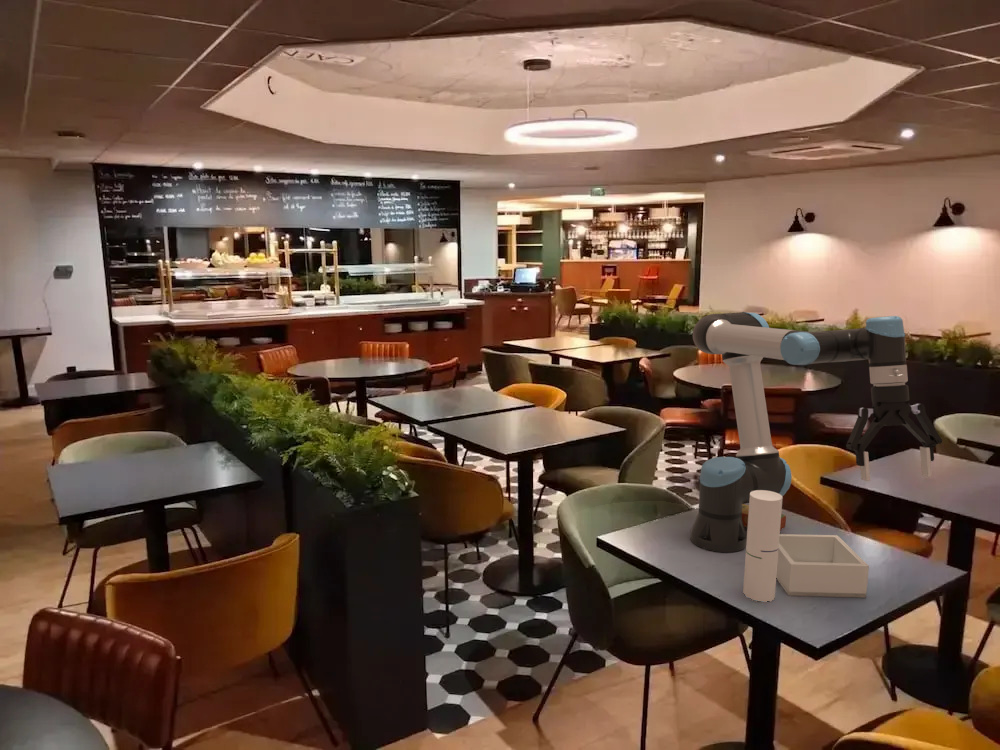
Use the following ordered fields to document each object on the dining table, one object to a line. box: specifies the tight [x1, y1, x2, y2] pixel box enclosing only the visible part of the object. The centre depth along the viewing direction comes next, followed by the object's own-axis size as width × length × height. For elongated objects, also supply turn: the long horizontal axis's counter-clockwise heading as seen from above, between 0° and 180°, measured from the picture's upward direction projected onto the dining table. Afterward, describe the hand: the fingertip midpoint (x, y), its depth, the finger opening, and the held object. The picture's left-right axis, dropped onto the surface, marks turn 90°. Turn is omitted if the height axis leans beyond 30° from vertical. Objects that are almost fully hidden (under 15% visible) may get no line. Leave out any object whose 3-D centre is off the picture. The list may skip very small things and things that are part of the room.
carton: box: [742, 504, 787, 531], centre depth 215 cm, size 8×16×4 cm, turn 46°
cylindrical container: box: [742, 490, 784, 603], centre depth 170 cm, size 7×7×25 cm
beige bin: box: [776, 533, 870, 599], centre depth 179 cm, size 18×18×8 cm
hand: (896, 478), depth 163 cm, fingers open, 13 cm apart
